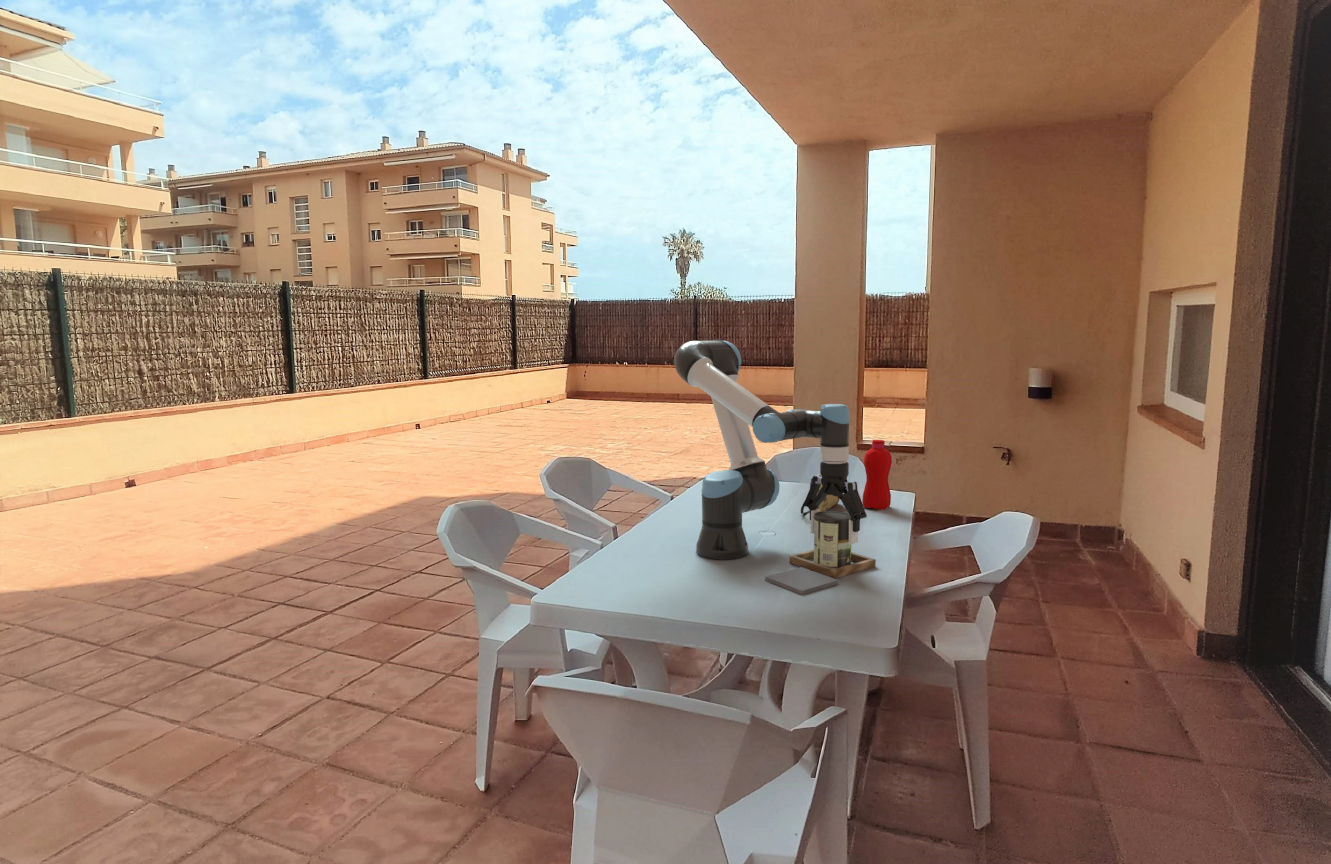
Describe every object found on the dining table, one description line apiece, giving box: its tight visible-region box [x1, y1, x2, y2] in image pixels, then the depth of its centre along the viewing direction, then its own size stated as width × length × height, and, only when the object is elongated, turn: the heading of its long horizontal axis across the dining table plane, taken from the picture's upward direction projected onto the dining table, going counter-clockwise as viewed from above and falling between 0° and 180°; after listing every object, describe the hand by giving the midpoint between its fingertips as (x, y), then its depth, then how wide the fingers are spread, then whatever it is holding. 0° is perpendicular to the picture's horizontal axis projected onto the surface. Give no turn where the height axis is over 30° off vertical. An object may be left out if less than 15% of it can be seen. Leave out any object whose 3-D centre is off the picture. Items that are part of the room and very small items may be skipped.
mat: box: [764, 566, 839, 595], centre depth 185 cm, size 13×13×1 cm
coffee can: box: [813, 510, 852, 569], centre depth 198 cm, size 10×10×14 cm
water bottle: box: [861, 439, 893, 511], centre depth 263 cm, size 9×11×25 cm
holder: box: [788, 549, 877, 579], centre depth 199 cm, size 16×16×2 cm
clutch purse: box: [800, 473, 840, 515], centre depth 259 cm, size 30×7×15 cm, turn 150°
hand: (833, 537), depth 198 cm, fingers open, 13 cm apart
